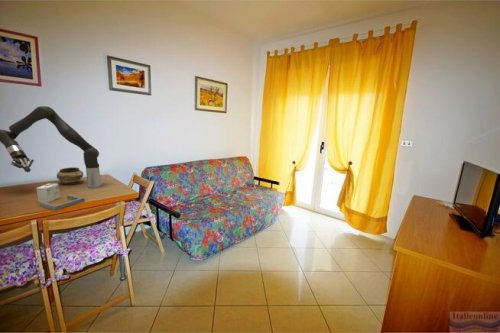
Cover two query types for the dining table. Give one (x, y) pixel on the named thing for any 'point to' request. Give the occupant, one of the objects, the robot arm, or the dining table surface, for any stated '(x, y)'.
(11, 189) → the dining table surface
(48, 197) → the light bulb box
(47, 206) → the charcoal bay
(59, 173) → the ceramic bowl
